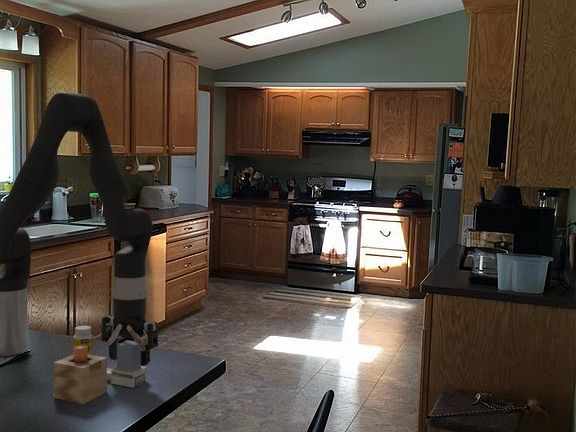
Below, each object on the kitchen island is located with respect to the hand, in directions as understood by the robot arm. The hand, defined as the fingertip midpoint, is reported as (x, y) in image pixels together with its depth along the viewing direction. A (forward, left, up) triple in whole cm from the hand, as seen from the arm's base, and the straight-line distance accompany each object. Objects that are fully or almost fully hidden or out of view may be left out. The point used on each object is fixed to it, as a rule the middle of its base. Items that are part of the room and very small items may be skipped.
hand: (129, 362), depth 153 cm
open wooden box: (-5, -11, -5) cm, 13 cm away
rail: (-6, 0, -5) cm, 8 cm away
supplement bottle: (-21, +9, -5) cm, 23 cm away
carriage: (0, 0, -5) cm, 5 cm away
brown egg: (-5, -11, +2) cm, 12 cm away
